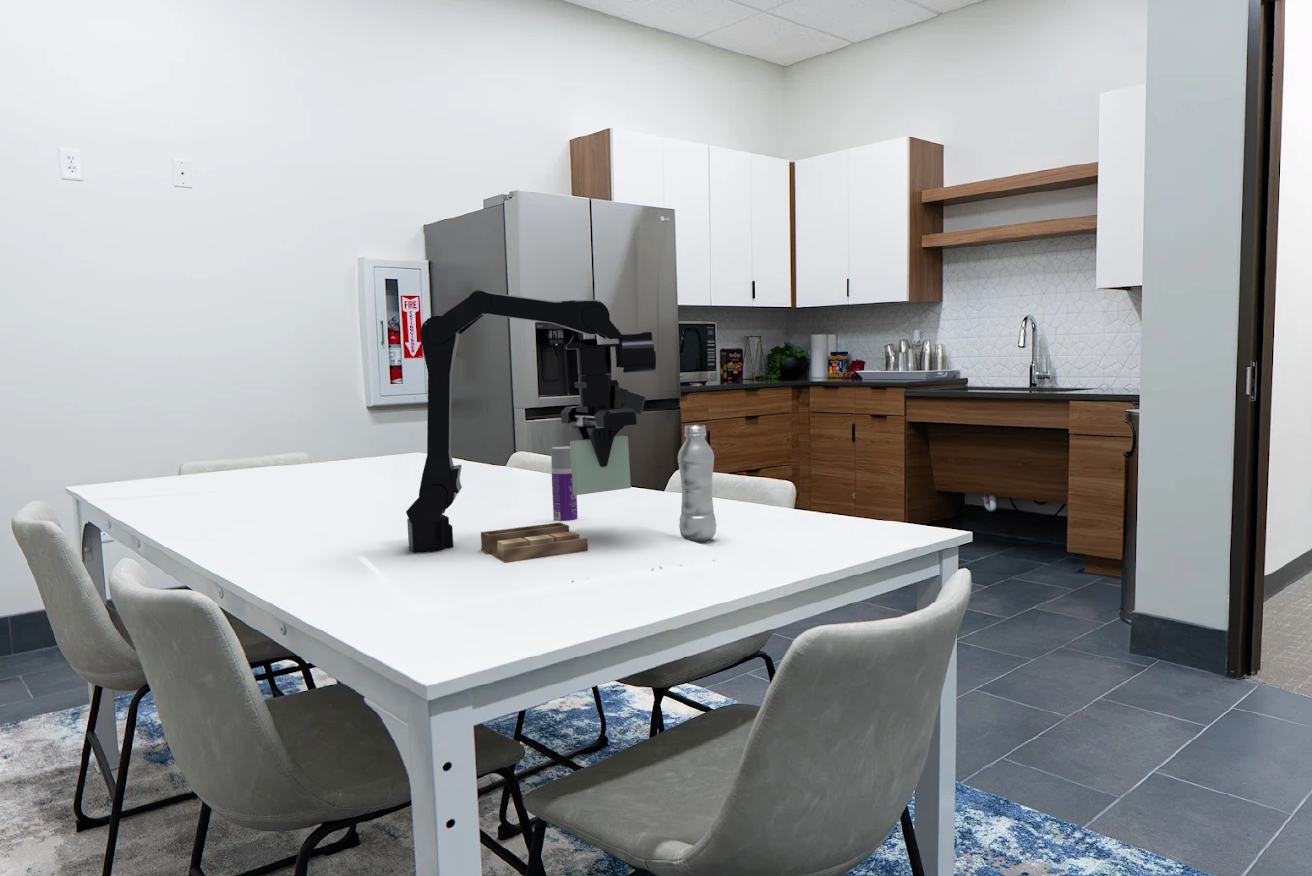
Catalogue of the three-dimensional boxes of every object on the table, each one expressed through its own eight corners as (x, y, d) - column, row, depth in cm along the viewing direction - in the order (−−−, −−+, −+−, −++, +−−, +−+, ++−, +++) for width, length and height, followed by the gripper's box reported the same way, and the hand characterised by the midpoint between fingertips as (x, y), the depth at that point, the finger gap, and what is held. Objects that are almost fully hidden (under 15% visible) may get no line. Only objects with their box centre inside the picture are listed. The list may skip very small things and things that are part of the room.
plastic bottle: (717, 536, 161) (714, 423, 159) (716, 544, 154) (713, 427, 153) (681, 537, 162) (677, 424, 160) (678, 545, 155) (674, 427, 153)
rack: (505, 568, 141) (504, 543, 141) (480, 555, 152) (479, 531, 151) (588, 556, 148) (587, 532, 148) (559, 544, 159) (558, 521, 158)
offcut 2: (531, 555, 145) (530, 540, 145) (524, 552, 148) (523, 537, 148) (554, 552, 147) (553, 537, 147) (547, 549, 150) (546, 534, 150)
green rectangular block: (577, 495, 153) (574, 441, 152) (573, 493, 155) (569, 441, 154) (630, 487, 158) (627, 436, 157) (625, 486, 160) (622, 435, 159)
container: (576, 525, 176) (573, 448, 175) (552, 526, 176) (549, 449, 175) (578, 521, 181) (576, 446, 180) (555, 521, 181) (552, 446, 180)
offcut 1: (504, 559, 143) (503, 544, 143) (497, 556, 146) (497, 541, 146) (528, 556, 145) (527, 540, 145) (521, 553, 148) (520, 537, 148)
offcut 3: (557, 552, 148) (556, 537, 147) (550, 549, 150) (549, 534, 150) (579, 549, 150) (579, 534, 149) (572, 546, 152) (571, 531, 152)
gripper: (663, 371, 150) (668, 465, 152) (613, 372, 167) (618, 457, 168) (602, 375, 145) (608, 473, 147) (557, 376, 161) (563, 463, 163)
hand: (600, 466), depth 156 cm, fingers closed on green rectangular block, 2 cm apart
